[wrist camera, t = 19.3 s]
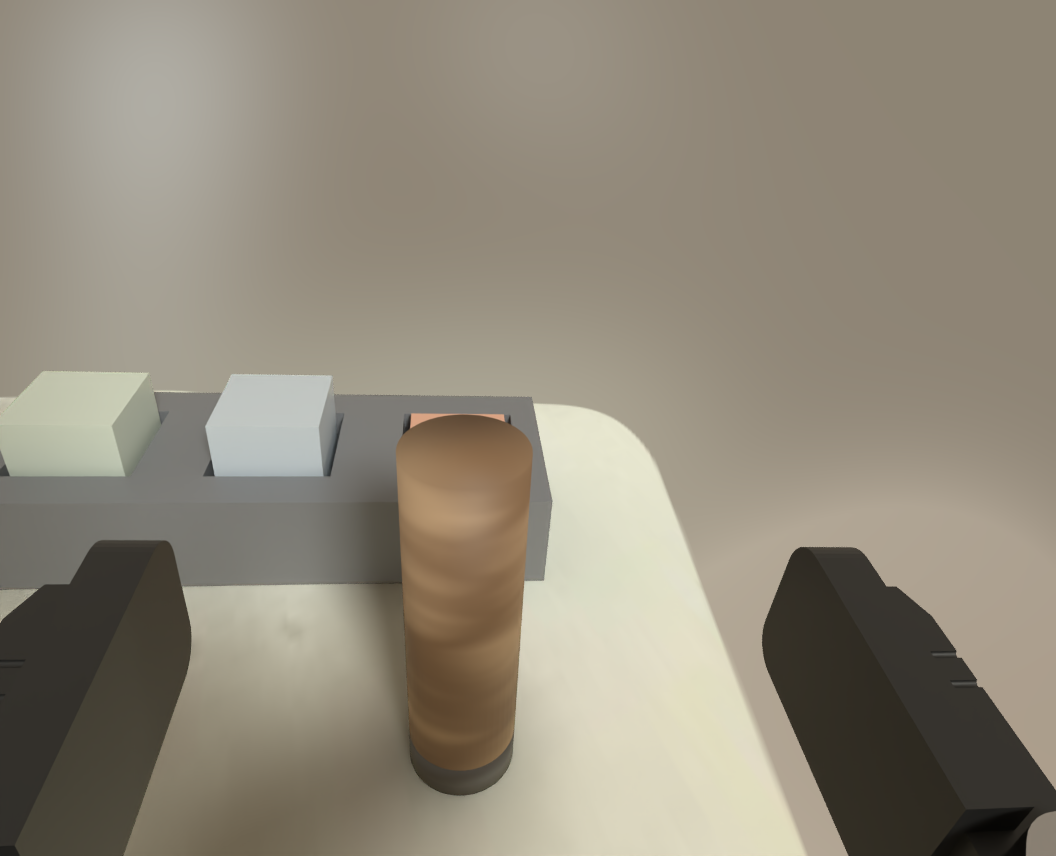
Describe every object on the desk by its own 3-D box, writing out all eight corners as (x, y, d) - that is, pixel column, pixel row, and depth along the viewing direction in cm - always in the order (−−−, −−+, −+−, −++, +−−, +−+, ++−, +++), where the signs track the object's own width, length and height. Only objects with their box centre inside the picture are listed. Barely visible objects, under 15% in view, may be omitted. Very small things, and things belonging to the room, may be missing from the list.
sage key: (21, 505, 35) (-10, 424, 32) (66, 446, 39) (42, 371, 37) (133, 505, 35) (111, 425, 33) (166, 447, 40) (149, 372, 37)
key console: (-27, 589, 34) (-66, 504, 31) (65, 466, 42) (40, 390, 40) (543, 580, 37) (552, 501, 35) (525, 467, 45) (531, 397, 43)
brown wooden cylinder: (409, 799, 27) (392, 491, 20) (411, 707, 30) (398, 414, 23) (517, 791, 28) (540, 488, 20) (508, 701, 31) (525, 413, 24)
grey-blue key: (220, 505, 36) (205, 426, 33) (243, 447, 40) (231, 374, 38) (326, 504, 36) (318, 427, 34) (338, 447, 41) (332, 375, 38)
